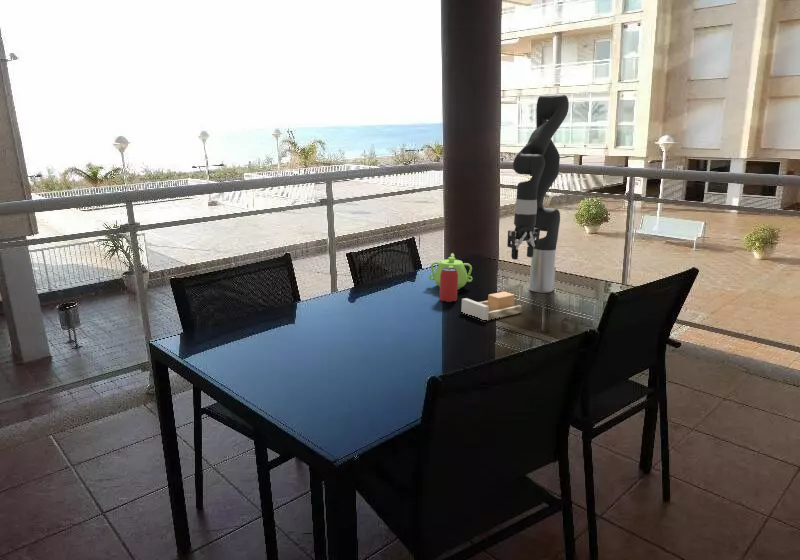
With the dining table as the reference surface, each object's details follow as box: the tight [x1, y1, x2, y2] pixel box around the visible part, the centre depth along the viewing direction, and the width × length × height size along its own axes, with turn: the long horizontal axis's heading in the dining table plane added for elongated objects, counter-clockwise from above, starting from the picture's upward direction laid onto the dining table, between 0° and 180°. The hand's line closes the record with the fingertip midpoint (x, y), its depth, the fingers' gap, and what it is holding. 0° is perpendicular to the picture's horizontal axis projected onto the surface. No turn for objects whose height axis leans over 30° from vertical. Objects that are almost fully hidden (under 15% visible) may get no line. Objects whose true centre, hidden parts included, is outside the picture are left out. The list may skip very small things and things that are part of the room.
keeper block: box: [487, 290, 515, 312], centre depth 206 cm, size 8×5×6 cm, turn 125°
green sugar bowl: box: [429, 252, 473, 289], centre depth 235 cm, size 16×14×13 cm
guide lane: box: [478, 299, 523, 321], centre depth 204 cm, size 16×11×2 cm
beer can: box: [439, 268, 458, 303], centre depth 217 cm, size 7×7×12 cm
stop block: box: [460, 297, 490, 321], centre depth 199 cm, size 2×11×5 cm, turn 35°
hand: (522, 258), depth 208 cm, fingers open, 7 cm apart
